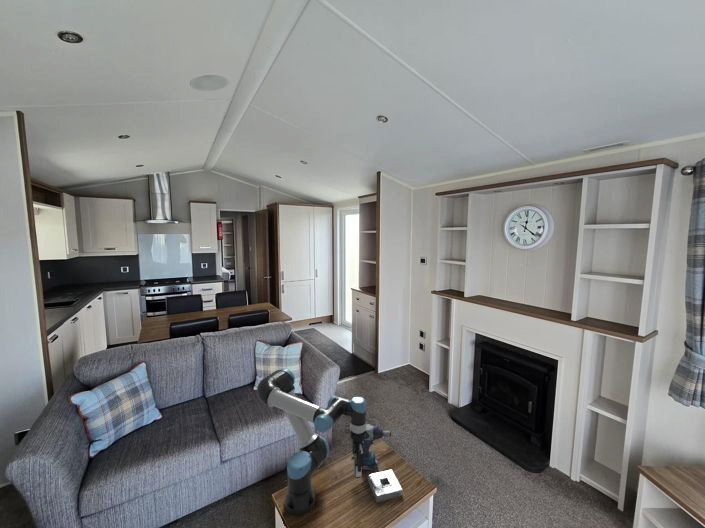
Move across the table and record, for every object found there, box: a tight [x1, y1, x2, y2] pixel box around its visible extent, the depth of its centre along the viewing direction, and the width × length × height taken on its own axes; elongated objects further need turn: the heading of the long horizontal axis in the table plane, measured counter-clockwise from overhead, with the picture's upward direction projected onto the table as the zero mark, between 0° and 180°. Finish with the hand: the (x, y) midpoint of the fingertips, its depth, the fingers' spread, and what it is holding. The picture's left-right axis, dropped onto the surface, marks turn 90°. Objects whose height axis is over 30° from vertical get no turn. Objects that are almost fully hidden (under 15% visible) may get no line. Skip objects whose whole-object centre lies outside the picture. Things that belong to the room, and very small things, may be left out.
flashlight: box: [351, 452, 362, 479], centre depth 155 cm, size 6×4×12 cm, turn 106°
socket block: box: [367, 469, 403, 503], centre depth 166 cm, size 14×14×4 cm
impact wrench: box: [362, 423, 392, 472], centre depth 179 cm, size 8×22×25 cm, turn 78°
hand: (357, 473), depth 156 cm, fingers closed on flashlight, 3 cm apart
